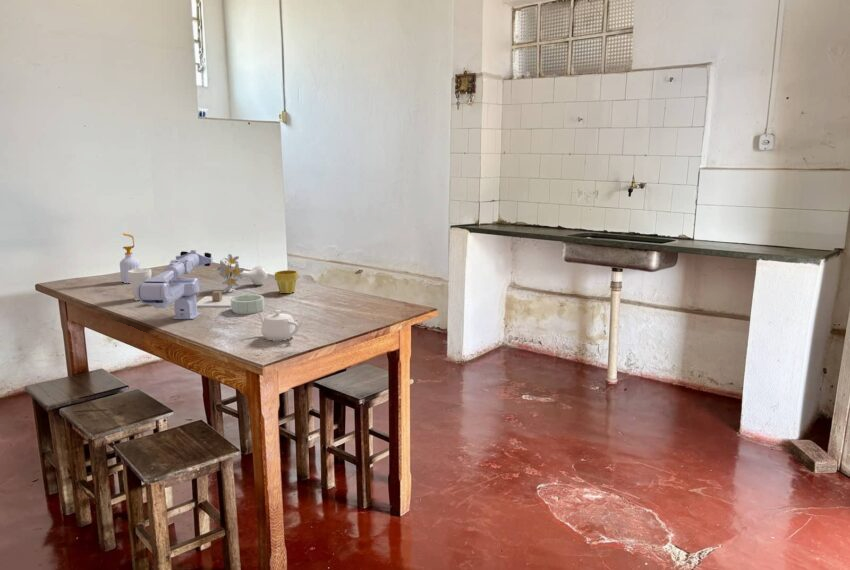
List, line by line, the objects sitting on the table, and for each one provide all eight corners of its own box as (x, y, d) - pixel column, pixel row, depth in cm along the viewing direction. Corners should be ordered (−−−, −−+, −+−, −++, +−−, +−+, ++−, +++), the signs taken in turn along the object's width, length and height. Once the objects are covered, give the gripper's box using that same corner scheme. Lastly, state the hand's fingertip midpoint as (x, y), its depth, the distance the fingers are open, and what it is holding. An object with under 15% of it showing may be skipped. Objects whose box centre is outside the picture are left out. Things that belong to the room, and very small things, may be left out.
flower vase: (255, 296, 310) (212, 293, 290) (256, 260, 312) (213, 254, 292) (272, 295, 303) (229, 291, 282) (273, 258, 304) (231, 251, 284)
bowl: (259, 315, 251) (258, 302, 250) (227, 315, 251) (226, 301, 250) (267, 306, 264) (266, 294, 263) (237, 306, 264) (236, 294, 263)
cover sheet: (230, 306, 262) (229, 296, 261) (192, 306, 262) (191, 296, 261) (241, 297, 278) (240, 287, 277) (205, 297, 278) (204, 287, 277)
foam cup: (126, 299, 275) (123, 271, 273) (144, 295, 283) (141, 267, 280) (140, 302, 271) (137, 273, 268) (158, 297, 279) (155, 269, 276)
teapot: (245, 337, 223) (244, 310, 220) (271, 328, 233) (269, 302, 231) (286, 346, 212) (284, 318, 210) (311, 337, 222) (310, 310, 220)
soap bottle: (121, 281, 313) (116, 232, 308) (141, 279, 317) (136, 231, 312) (121, 284, 306) (116, 235, 300) (141, 282, 309) (136, 234, 304)
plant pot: (274, 290, 293) (273, 270, 291) (296, 289, 296) (295, 269, 294) (276, 295, 284) (275, 275, 281) (299, 294, 287) (298, 273, 284)
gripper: (206, 253, 250) (218, 247, 263) (171, 251, 250) (184, 245, 263) (207, 270, 252) (218, 263, 265) (171, 268, 252) (184, 261, 265)
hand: (201, 255), depth 264 cm, fingers open, 7 cm apart
